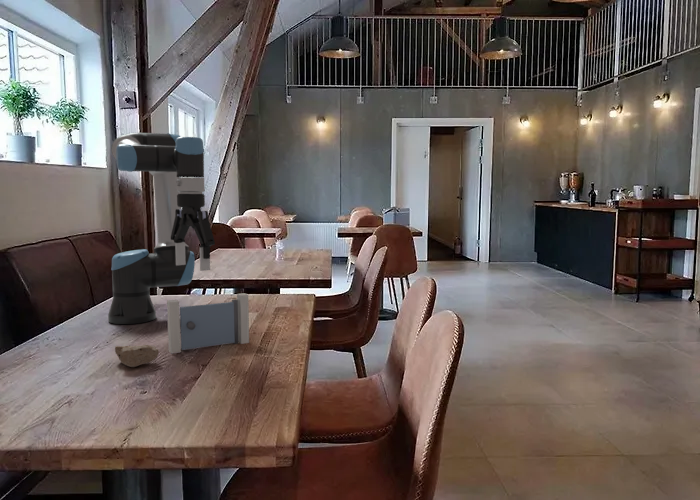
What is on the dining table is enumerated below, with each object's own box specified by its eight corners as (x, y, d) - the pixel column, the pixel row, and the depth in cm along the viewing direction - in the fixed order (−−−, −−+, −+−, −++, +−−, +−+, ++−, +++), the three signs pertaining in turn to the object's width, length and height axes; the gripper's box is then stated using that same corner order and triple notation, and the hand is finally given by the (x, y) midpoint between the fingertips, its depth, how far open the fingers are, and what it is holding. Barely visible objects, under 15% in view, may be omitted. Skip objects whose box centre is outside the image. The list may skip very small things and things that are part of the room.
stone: (124, 371, 138) (121, 351, 138) (116, 362, 148) (112, 343, 148) (162, 361, 143) (159, 342, 142) (151, 353, 153) (148, 335, 152)
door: (181, 349, 158) (179, 304, 157) (237, 342, 166) (236, 299, 165) (183, 352, 155) (182, 306, 154) (241, 344, 164) (240, 300, 162)
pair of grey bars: (168, 351, 157) (166, 300, 156) (245, 340, 168) (244, 293, 167) (171, 353, 154) (169, 302, 153) (249, 342, 166) (248, 294, 164)
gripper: (157, 192, 168) (159, 264, 171) (202, 194, 151) (203, 274, 153) (180, 191, 173) (182, 261, 176) (226, 193, 156) (228, 271, 158)
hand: (192, 267), depth 165 cm, fingers open, 13 cm apart
